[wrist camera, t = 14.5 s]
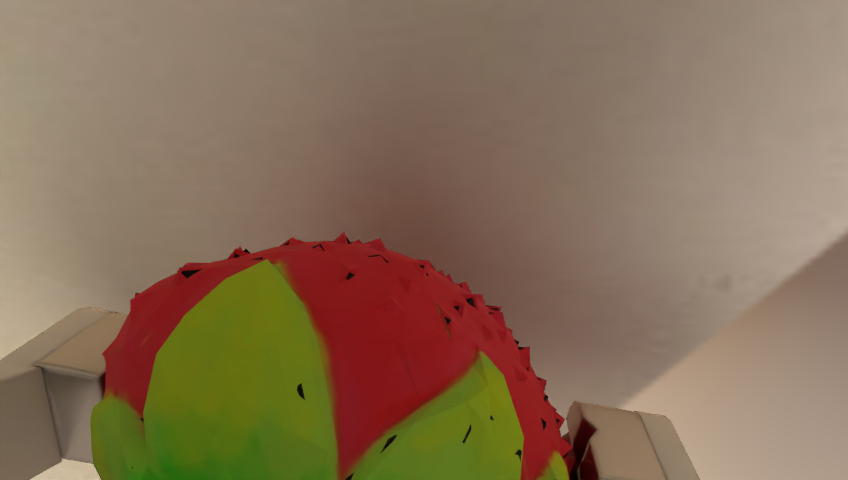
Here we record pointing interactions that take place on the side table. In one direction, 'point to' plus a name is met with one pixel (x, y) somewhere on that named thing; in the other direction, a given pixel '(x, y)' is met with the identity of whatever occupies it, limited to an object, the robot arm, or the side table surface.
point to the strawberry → (321, 375)
